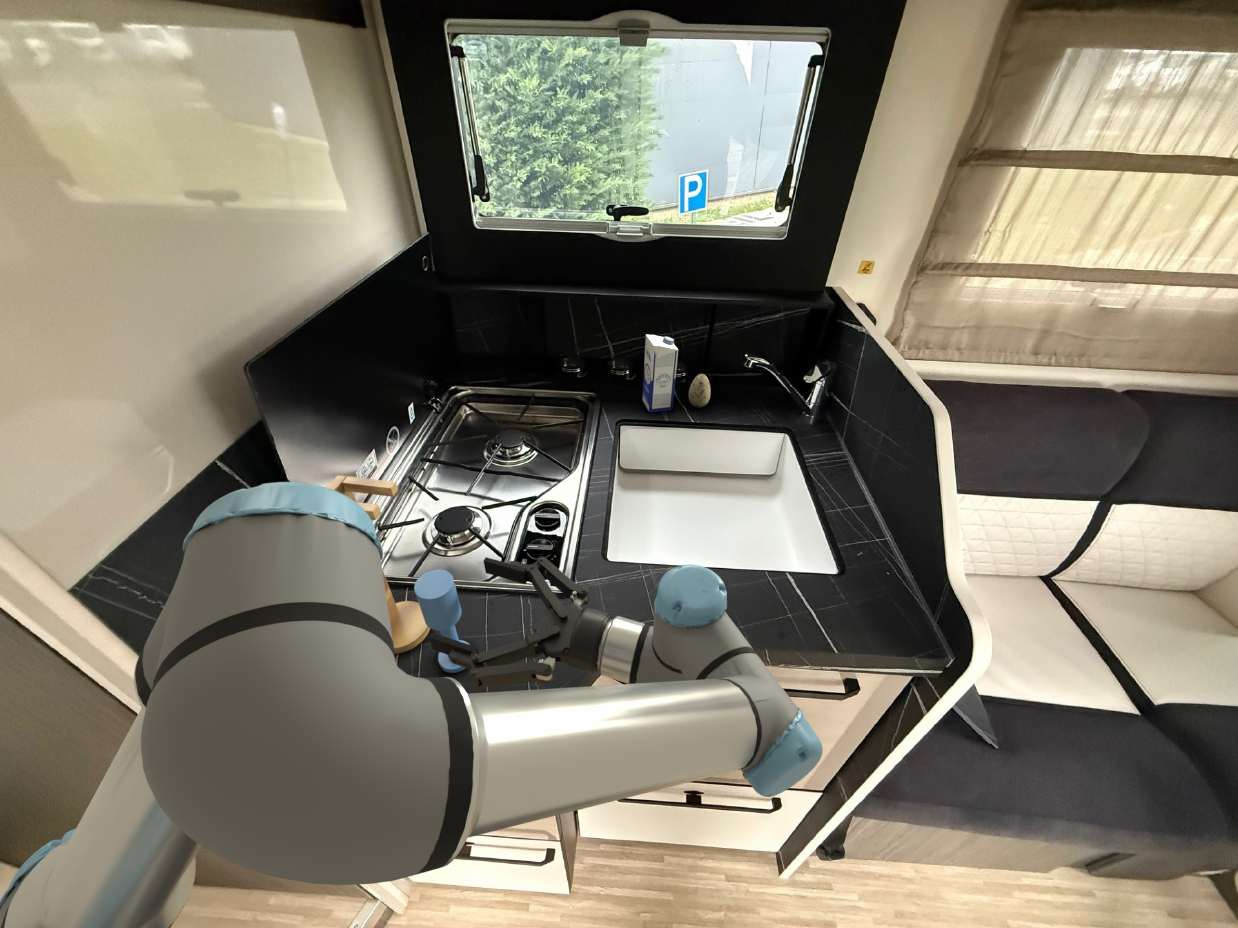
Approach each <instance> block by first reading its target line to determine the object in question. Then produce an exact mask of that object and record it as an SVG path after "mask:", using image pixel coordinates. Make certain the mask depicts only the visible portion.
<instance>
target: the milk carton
mask: <svg viewBox="0 0 1238 928" xmlns="http://www.w3.org/2000/svg"><path fill="white" fill-rule="evenodd" d="M674 342H675V339H674V338H672V337H670V336H665V335H664V336H659V335H655V334H645V345H644V363H643V364H644V365H643V380H642V381H643V383H642V398H641V400H642V402H643V404H644V406H645V408H646V409H647V411H648V413H649V414H650V413H657V412H668V411H672V410H673V406H674V397H675V388H676V387H675V386H676V375H677V366H678V357H679V349H678V347H677V346H676V345H675V343H674Z"/></svg>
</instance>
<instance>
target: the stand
mask: <svg viewBox="0 0 1238 928" xmlns="http://www.w3.org/2000/svg"><path fill="white" fill-rule="evenodd" d="M325 488H329V489H331V490H334V491H337V492H339V493H341V494H343V495H345V496H347V497H349V498H350V499H352V500H353V501H355V502H356V503H357V504H359V505H360V506H361V507H362V508H363V509H364V510H365V511H366V513H367V514H368V515H369V517H370V519H371V520H372V521H376V520H377V519H378V518H379V516H380V515H381V514H382V512H381V509H380V506H379V504H376V503H368V502H361V501H357V500H356V497H355V494H354V493H358V494H359V493H360V494H366V495H375V496H383V497H392V498H394V497H395V496H396V495H397V493H398V492H399V487H398V484H397V482H396V481H391V480H390V481H389V480H381V479H373V478H365V477H356V476H350V475H349V476H347V475H338V474H337V475H336V476H335V477H334V478H333V479H332V480H331V481H330V483H328V485H326V487H325ZM382 572H383V579H384V585H385V592H386V598H387V605H388V611H389V618H390V624H391V631H392V638H393V644H394V652H395V655H396V654H401V653H405V652H408V651H411V650H413V649H414V648H416V647H417V646H418V645H420V644H421V643H422V642H423V641H424V640H425V639H426V637H427V636H428V634H429V633H430V630H431V628H429V627H428V626H427V625H426V623H425V620H424V617H423V614H422V611H421V608H420V606H419V603H418V601H413V600H404V601H399V602H395V599H394V596H393V594H392V591H391V588H390V585H389V583H388V579H387V577H386V575H385V572H384V569H382Z"/></svg>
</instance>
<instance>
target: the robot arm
mask: <svg viewBox="0 0 1238 928" xmlns="http://www.w3.org/2000/svg"><path fill="white" fill-rule="evenodd" d="M356 502H357V501H356ZM356 502H355V501H353V500H352V499H350V498H349V497H347V496H345V495H343V494H341V493H339V492H337V491H334V490H331V489H329V488H326V487H325V486H321V485H318V484H312V483H305V482H298V481H297V482H296V481H278V482H267V483H266V482H265V483H261V484H260V485H257V486H253V487H249V488H241V489H237V490H234V491H231V492H229V493H228V494H225V495H223V496H221V497H219V498H218V499H216V500H215V501H213V502H212V503H210V504H209V505H208V506H207V507H205V509H204V510H203V511H202V512H200V514H199V516H198V517H197V518H196V520H195V522H194V523H193V526H192V528H191V530H190V531H188V533H187V534H186V536H185V538H184V540H183V543H182V551H183V560H182V563H181V566H180V569H179V572H178V575H177V577H176V580H175V583H174V585H173V587H172V590H171V592H170V594H169V596H168V598H167V599H166V602H165V604H164V606H163V608H162V610H161V612H160V614H159V616H158V618H157V620H156V621H155V623H154V625H153V627H152V629H151V631H150V633H149V635H148V637H147V639H146V641H145V644H144V646H143V647H142V649H141V651H140V653H139V655H138V657H137V660H136V663H135V666H134V671H133V687H134V692H135V696H136V698H137V700H138V703H139V705H140V707H141V708H140V710H139V712H138V714H137V715H136V717H135V719H134V721H133V723H132V725H131V726H130V728H129V731H128V732H127V734H126V736H125V738H124V739H123V741H122V743H121V744H120V747H119V749H118V750H117V753H116V754H115V756H114V758H113V759H112V762H111V764H110V765H109V767H108V768H107V771H106V772H105V775H104V776H103V778H102V780H101V782H100V784H99V786H98V788H97V789H96V791H95V793H94V795H93V797H92V798H91V800H90V803H89V805H87V808H86V810H85V811H84V813H83V815H82V816H81V819H80V820H79V822H78V825H76V828H74V829H71V830H69V831H67V832H66V833H65V834H64V835H63V836H62V838H61V839H53V840H51V841H49V842H47V843H46V844H44V845H43V846H42V847H40V848H39V849H38V850H36V851H35V852H34V853H33V854H32V855H30V857H28V859H27V860H26V861H25V862H24V863H23V864H22V865H21V866H20V867H19V869H18V870H17V872H16V873H15V874H14V876H13V878H12V880H11V881H10V883H9V885H8V888H7V889H6V890H5V892H4V893H3V894H2V897H1V898H0V928H172V926H173V924H174V923H175V922H176V920H177V919H178V917H179V915H180V914H181V913H182V911H183V909H184V907H185V905H186V903H187V902H188V900H189V897H190V895H191V893H192V891H193V887H194V884H195V880H196V871H197V866H196V865H197V863H196V862H197V861H196V856H198V853H199V852H200V850H201V848H202V847H203V848H204V849H206V850H208V851H209V852H211V853H212V854H213V855H216V856H218V857H220V858H222V859H224V860H225V861H228V862H230V863H232V864H234V865H237V866H240V867H243V868H245V869H248V870H251V871H254V872H256V873H260V874H262V875H265V876H270V877H275V878H279V879H284V880H290V881H296V882H300V883H306V884H307V883H308V884H315V885H328V886H329V885H330V886H331V885H334V886H355V885H356V886H357V885H359V886H360V885H373V884H379V883H380V884H381V883H387V882H388V883H389V882H395V881H398V880H402V879H406V878H410V877H414V876H417V875H420V874H424V873H427V872H431V871H434V870H438V869H442V868H444V867H446V866H449V865H450V864H451V863H453V861H454V860H455V859H456V857H457V856H458V855H459V854H460V852H461V850H462V848H463V847H464V845H465V843H466V842H467V840H468V838H472V837H476V836H480V835H484V834H488V833H492V832H497V831H499V830H500V831H501V830H504V829H509V828H512V827H515V826H516V827H517V826H520V825H524V824H528V823H532V822H536V821H540V820H545V819H548V818H552V817H556V816H560V815H564V814H568V813H572V812H575V811H579V810H584V809H588V808H592V807H597V806H600V805H604V804H608V803H612V802H616V801H619V800H625V799H628V798H632V797H636V796H639V795H643V794H649V793H652V792H655V791H660V790H664V789H668V788H672V787H675V786H676V787H677V786H679V785H683V784H688V783H692V782H696V781H700V780H704V779H708V778H711V777H716V776H720V775H724V774H727V773H728V774H729V773H732V772H736V771H741V773H742V777H743V779H745V780H746V781H747V782H748V784H750V786H751V787H752V789H753V790H754V791H755V793H757V794H758V795H759V796H761V797H766V798H772V797H776V796H778V795H780V794H781V793H784V792H786V791H787V790H788V789H790V788H792V787H793V786H795V785H796V784H798V783H799V782H800V781H802V780H803V779H804V778H805V777H806V776H807V775H809V774H810V773H811V772H812V771H813V770H814V768H815V767H816V766H817V765H818V763H819V762H820V761H821V758H822V756H823V743H822V741H821V740H820V738H819V736H818V735H817V733H816V732H815V731H814V728H813V727H812V726H811V725H810V723H809V721H808V720H807V718H806V717H805V716H804V713H803V710H802V708H801V707H798V706H797V705H796V704H795V702H794V701H793V699H792V698H791V697H790V696H789V694H788V693H787V692H786V690H785V689H784V688H783V686H782V685H781V684H780V683H779V682H778V680H777V679H776V678H775V677H774V675H773V673H771V671H770V670H769V668H768V667H767V666H766V664H765V663H764V661H763V660H762V659H761V658H760V656H759V655H758V654H757V652H756V651H755V650H754V648H753V647H752V645H751V644H750V643H749V642H748V640H747V638H746V637H745V636H744V635H743V634H742V632H741V631H740V629H739V628H738V627H737V625H736V624H735V623H734V621H733V620H732V619H731V618H730V616H729V615H728V613H727V612H726V611H727V608H728V600H727V599H728V596H727V593H728V592H727V589H726V588H727V587H726V585H725V583H724V581H723V580H722V578H721V576H719V575H718V574H717V573H716V572H714V571H713V570H711V569H709V568H707V567H705V566H702V565H699V564H682V565H678V566H675V567H673V568H670V569H669V570H668V571H667V572H665V573H664V574H663V576H662V577H661V579H660V581H659V583H658V587H657V592H656V597H655V598H654V602H653V608H654V609H653V624H652V625H649V624H646V623H644V622H640V621H637V620H633V619H630V618H628V617H627V618H626V617H623V616H620V615H617V616H615V617H614V618H613V616H612V615H611V614H610V613H609V612H605V611H601V610H598V609H595V608H591V607H587V608H583V606H586V605H588V603H589V588H587V587H586V586H584V585H581V584H578V583H576V582H574V581H573V580H572V579H571V578H570V577H568V576H567V575H566V574H565V573H564V572H563V571H561V570H560V569H559V568H558V567H557V566H556V565H555V564H553V563H552V562H551V561H549V559H547V558H546V557H545V556H538V558H537V560H536V561H535V562H534V563H530V564H526V563H523V562H519V561H516V560H510V561H509V562H505V561H502V560H498V559H494V558H490V557H486V556H485V558H484V559H483V567H484V571H485V574H488V575H491V576H493V577H494V576H495V577H498V578H502V579H506V580H509V581H512V582H516V583H520V584H522V585H526V584H527V582H528V579H529V584H532V587H533V588H534V589H535V591H536V593H537V594H538V596H539V598H540V600H541V601H542V603H543V605H544V606H545V608H546V610H543V612H542V613H541V618H540V620H539V622H538V623H537V624H536V625H535V627H534V632H533V633H530V634H528V635H526V636H525V638H522V639H519V640H516V641H513V642H510V643H507V644H504V645H501V646H498V647H495V648H492V649H489V650H485V651H482V652H479V649H478V647H477V646H474V645H472V644H470V643H469V644H470V645H469V644H466V643H463V642H459V641H456V640H453V639H450V638H447V637H444V636H441V634H438V633H434V632H431V634H430V635H429V637H428V640H429V642H430V645H431V649H432V650H433V651H435V652H438V653H439V652H441V653H444V654H447V655H449V657H450V660H451V662H452V663H453V664H456V665H459V666H462V667H465V669H469V672H468V677H469V680H470V684H471V687H472V688H473V689H481V688H482V689H483V688H491V687H501V686H506V685H515V684H523V683H530V682H531V683H532V682H535V683H539V684H544V685H549V684H551V683H553V681H554V676H553V672H554V670H555V666H556V663H565V664H567V665H569V666H570V667H574V668H577V669H580V670H582V671H586V672H589V673H592V674H594V673H596V672H598V671H599V673H600V675H601V676H602V677H605V678H609V679H612V680H615V681H618V682H621V683H622V684H607V685H591V686H574V687H572V686H571V687H557V688H542V689H541V688H539V689H524V690H523V689H522V690H507V691H492V692H491V691H489V692H474V693H468V692H467V691H466V689H465V688H464V687H463V685H462V684H461V683H460V681H458V680H456V678H453V677H450V676H441V677H416V676H413V675H410V674H408V673H406V672H405V671H403V670H402V669H401V668H400V667H399V666H398V664H397V660H396V654H395V652H394V644H393V638H392V631H391V624H390V618H389V611H388V605H387V598H386V592H385V585H384V579H383V572H384V571H383V572H382V570H383V566H382V560H383V557H384V548H383V546H382V543H381V541H380V540H379V538H378V537H377V532H376V528H375V525H374V522H373V520H371V519H370V517H369V515H368V514H367V513H366V511H365V510H364V509H363V508H362V507H361V506H360V505H359V504H357V503H356ZM547 581H548V582H550V583H551V585H553V587H555V588H556V589H557V590H558V591H560V592H561V593H562V594H563V595H564V596H565V597H567V598H568V599H569V600H570V603H567V604H566V603H565V604H562V602H561V601H560V599H559V598H558V596H557V595H556V594H555V593H554V592H553V590H552V589H551V587H550V586H549V584H548V582H547ZM540 656H545V658H546V659H543V658H542V659H541V658H540V659H539V660H538V661H525V662H519V661H522V660H525V659H527V658H529V659H534V658H537V657H540ZM516 662H517V663H516ZM623 683H625V684H623Z"/></svg>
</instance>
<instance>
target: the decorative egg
mask: <svg viewBox="0 0 1238 928" xmlns="http://www.w3.org/2000/svg"><path fill="white" fill-rule="evenodd" d="M711 390H712V389H711V383H710V380H709V379H708V377H707V376H706V374H704V373H699V374H697V375H696V376H695V378H694V379H693V380H692V382H691V384H690V386H689V390H688V400H689V401H688V402H689V403H690V405H692V407H694V408H698V409H700V408H704V407H705V406H706V405H707V404H708V403H709V401H710V399H711V394H712V393H711Z"/></svg>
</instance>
